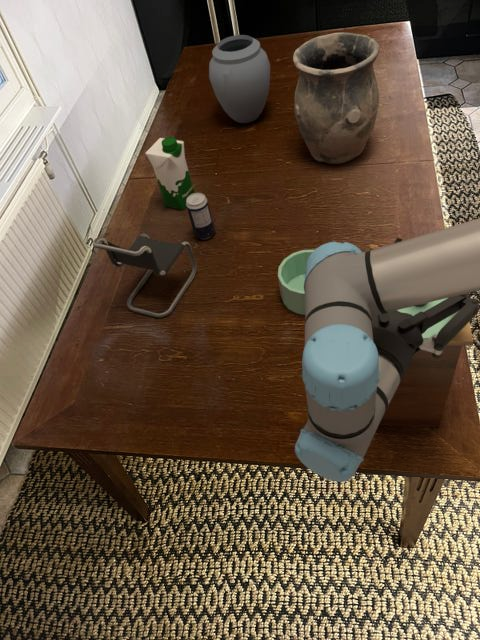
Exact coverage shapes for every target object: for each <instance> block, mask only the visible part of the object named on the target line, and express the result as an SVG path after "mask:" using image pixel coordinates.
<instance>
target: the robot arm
mask: <svg viewBox="0 0 480 640" xmlns="http://www.w3.org/2000/svg"><path fill="white" fill-rule="evenodd" d="M313 250H314V251H313V252H312V254H311V255H310V256H309V258H308V261H307V265H306V273H305V281H304V292H305V315H304V317H305V320H304V347H303V350H302V351H303V352H302V359H301V365H302V367H301V369H302V371H301V376H302V381H303V382H302V383H304V389H305V396H306V403H307V404H306V412H307V422H306V423H305V425H304V427H303V428H301V429H300V433H299V435H298V438H297V440H296V443H295V445H294V452H295V456H296V458H297V459H298V460H299V461H300V462H301V463H302V465H304V466H305V467H306V468H307V469H308V470H310V471H311V472H313V473H314V474H316V475H318V476H320V477H322V478H324V479H326V480H328V481H331V482H336V483H337V482H338V483H344V482H348V481H351V479H352V478H353V477H354V475H355V474H356V472H357V470H358V468H359V467H360V465H361V463H362V462H364V460H365V455H366V453H367V451H368V449H369V447H370V445H371V443H372V441H373V438H374V437H375V433H376V432H377V430H378V428H379V426H380V425H379V423H380V421H381V419H382V417H383V415H384V413H385V411H386V409H387V407H388V405H389V403H390V401H391V399H392V397H393V395H394V393H395V392H396V390H397V388H398V386H399V383H400V380H401V379H402V377H403V376H404V374H405V372H406V369H407V367H408V365H409V363H410V361H411V359H412V357H413V355H414V354H415V353H416V352H418V351H420V350H425V351H428V352H432V355H433V357H434V358H441V356H442V354H443V351H444V348H445V346H446V345H447V344H448V343H449V342H450V341H451V340H452V339H453V338H454V337H455V336H456V335H457V334H458V333H459V332H460V331H461V330H462V329H463V328H464V327H465V326H466V325H467V323H468V322H471V321H472V320H473V319H474V317H476V315H477V312H478V310H479V309H478V308H479V305H480V299H477V298H471V297H470V294H471V293H475V292H478V291H480V217H479V218H476V219H472V220H468V221H465V222H462V223H459V224H455V225H452V226H448V227H445V228H442V229H439V230H438V229H437V230H434V231H431V232H428V233H424V234H422V235H421V234H420V235H417V236H415V237H411V238H408V239H405V240H403V239H402V238H399V237H397V238H396V239H395V241H394V242H393V243H391V244H386V245H384V246H383V245H382V246H380V247H377V248H374V249H371V250H368V251H364V252H363V251H362V250H361V249H360V248H359V247H358V246H356V245H355V244H352V243H350V242H347V241H344V242H337V241H329V242H326V243H324V244H322V245H321V244H320V245H319V246H318V247H316V248H315V249H313ZM445 298H447V299H446V300H444V301H442V302H440V303H439V304H437V305H435V306H433V307H432V308H430V309H428V310H426V311H424V312H419V313H417V314H415V315H414V316H412V315H411V314H408V313H402V312H399V311H397V310H399V309H403V308H407V307H412V306H416V305H420V304H424V303H428V302H433V301H437V300H441V299H445ZM459 310H460V311H459ZM458 311H459V312H458ZM456 312H458V313H457V314H456V315H455V316H454V317H453V318H452V319H451V320H450V321H449V322H448V323H447V324H446V325H445V326H444V327H443V328H442V329H441V330H440V331H439V333H438V335H433V336H431V337H430V338H429V339H428V340H423V337H422V334H423V333H424V332H425V331H426V330H427V329H428V328H430V327H432V326H433V325H435V324H437V323H439V322H440V321H442V320H444V319H446V318H447V317H449V316H451V315H453V314H454V313H456Z"/></svg>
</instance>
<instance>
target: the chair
mask: <svg viewBox="0 0 480 640" xmlns="http://www.w3.org/2000/svg"><path fill="white" fill-rule="evenodd" d="M92 247H94V248H96V249H100V250H103V251H106V254H107V256H108V259H109V260H110V262H111V265H113V266H114V267H116V268H120V267H122V266H123V265H127V266H131V267H136V268H139V269H145V270H147V271H146V273H145V274H144V276H143V277H142V279H141V280H140V282H138V284H137V286H136V287H135V288H134V290H133V291H132V292H131V293H130V295H129V297H128V298H127V300H126V307H127V309H128V310H129V311H130V312H134V313H138V314H142V315H145V316H149V317H152V318H157V319H160V318H166V317H167V316H169V315H171V314H172V312H173V311H174V309H175V308H176V306H177V305H178V303H179V302H180V300H181V299H182V297H183V296H184V294H185V292H186V291H187V289H188V288H189V286H190V285H191V283H192V281H193V279H194V278H195V277H196V274H197V263H196V260H195V257H194V256H195V255H194V253H193V249H192V246H191V244H190V242H188V241H186V240H185V241H182V242H181V243H175V242H167V241H160V240H157V239H153V238H150V236H149V235H148V233H141V234H139V235H138V237H136V239H135V241H134V242H133V243H132V244H131V245H130V246H129V248H124V247H122V246H119V245H116V244H114V243H112V242H110V241H108V240H107V239H106V238H105V237H103V236H97V237H96V238H94V239H93V240H92ZM185 248H186V251H187V254H188V257H189V260H190V264H191V273H190V275H189V276H188V278H187V280H186V281H185V282H184V284H183V286H182V288H181V289H180V290H179V292H178V293H177V294H176V297H175V298H174V299H173V301H172V303H171V305H170V306H169V308H168V309H167V310H166V311H164V312H161V313H159V312H154V311H150V310H146V309H142V308H139V307H135V306H133V305H132V302H133V300H134V299H135V297H136V296H137V295H138V293H139V291H140V290H141V289H142V287H143V286H144V284H145V283H146V281H147V280H148V279H149V277H150V276H151V275H152V273H153V272H154V274H155V275H156V276H157V277H159V278H160V277H164V276H165V275H167V274H168V272H169V271H170V269H171V267H172V266H173V265H174V263H175V262H176V261H177V260H178V258H179V256H180V254H181V253H182V252H183V250H184V249H185Z"/></svg>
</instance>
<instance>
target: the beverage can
mask: <svg viewBox="0 0 480 640" xmlns="http://www.w3.org/2000/svg"><path fill="white" fill-rule="evenodd" d="M186 207H187V208H186V211H187V214H188V217H189V220H190V224H191V228H192V230H193V233H194V236H195V238H197V239H199V240H208V239H210V238H211V237H213V236H214V234H215V232H216V228H215V224H214V220H213V216H212V212H211V208H210V204H209V200H208V198H207V197H206V195H205V194H204V193H203V192H195V193H193V194H191V195H189V196H188V197H187V200H186Z"/></svg>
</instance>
